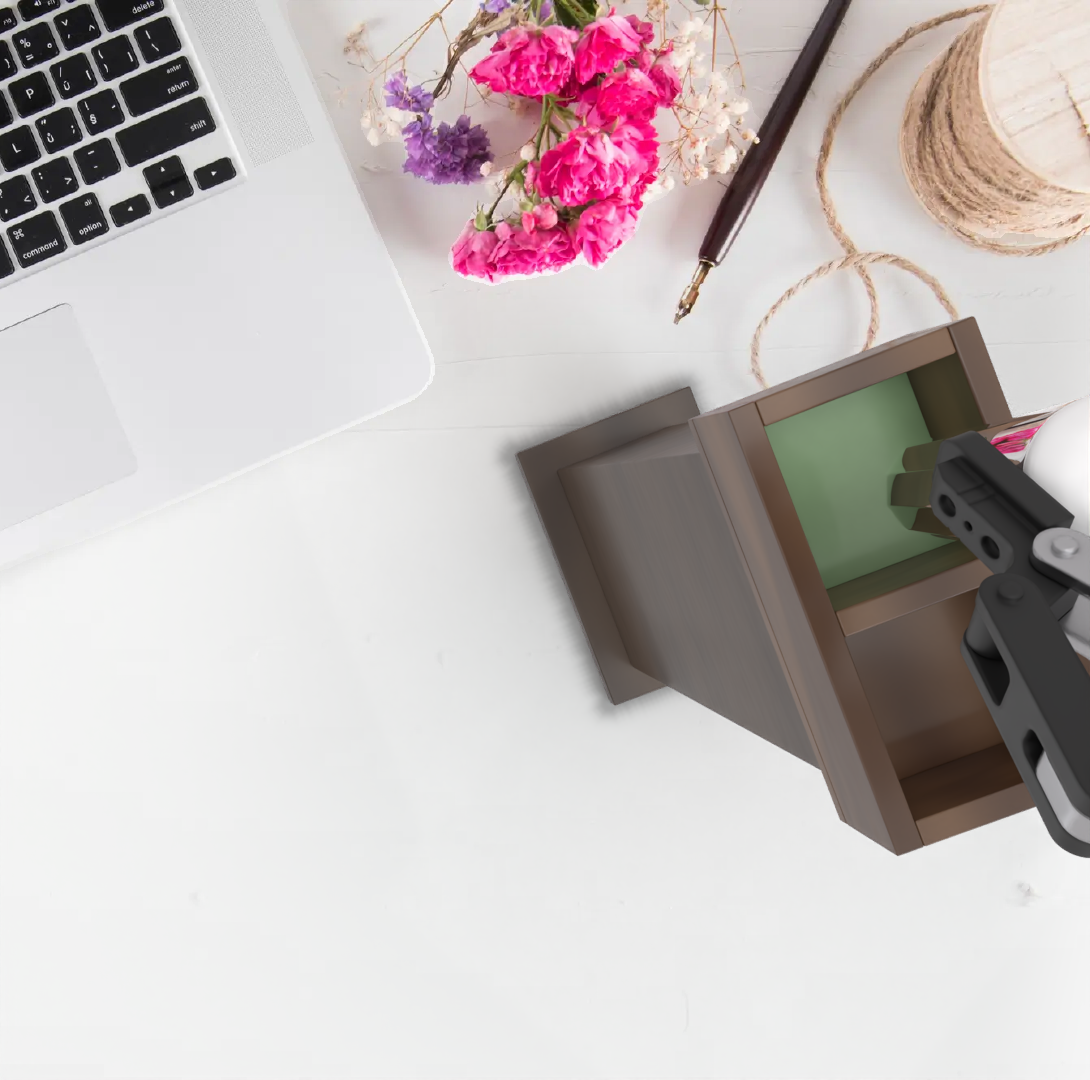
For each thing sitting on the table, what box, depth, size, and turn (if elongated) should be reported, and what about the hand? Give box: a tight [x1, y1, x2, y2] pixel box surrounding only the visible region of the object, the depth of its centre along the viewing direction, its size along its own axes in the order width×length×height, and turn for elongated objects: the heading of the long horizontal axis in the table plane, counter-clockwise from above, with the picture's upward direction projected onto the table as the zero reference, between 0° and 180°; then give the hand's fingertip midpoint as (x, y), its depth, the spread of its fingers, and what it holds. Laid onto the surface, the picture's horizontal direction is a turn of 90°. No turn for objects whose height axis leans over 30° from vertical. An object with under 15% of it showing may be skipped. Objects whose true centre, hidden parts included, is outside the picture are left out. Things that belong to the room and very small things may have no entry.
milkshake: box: [885, 394, 1090, 541], centre depth 29 cm, size 4×5×10 cm
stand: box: [514, 385, 821, 771], centre depth 54 cm, size 12×18×28 cm, turn 21°
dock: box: [688, 315, 1090, 857], centre depth 38 cm, size 9×17×4 cm, turn 21°
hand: (1042, 424), depth 27 cm, fingers closed on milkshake, 4 cm apart
